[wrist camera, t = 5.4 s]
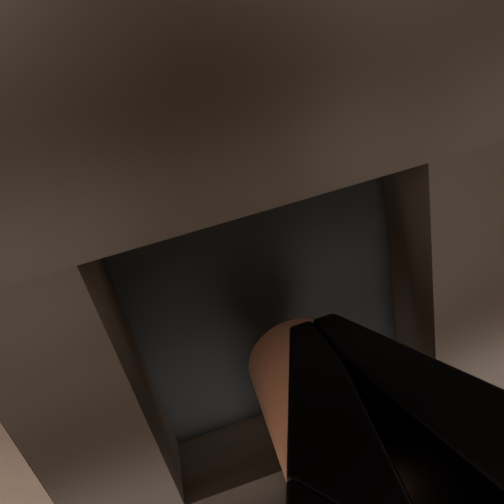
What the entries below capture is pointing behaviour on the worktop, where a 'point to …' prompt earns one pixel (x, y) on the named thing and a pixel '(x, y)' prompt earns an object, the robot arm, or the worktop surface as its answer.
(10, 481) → the worktop surface
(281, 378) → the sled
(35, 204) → the deck
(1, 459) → the worktop surface
